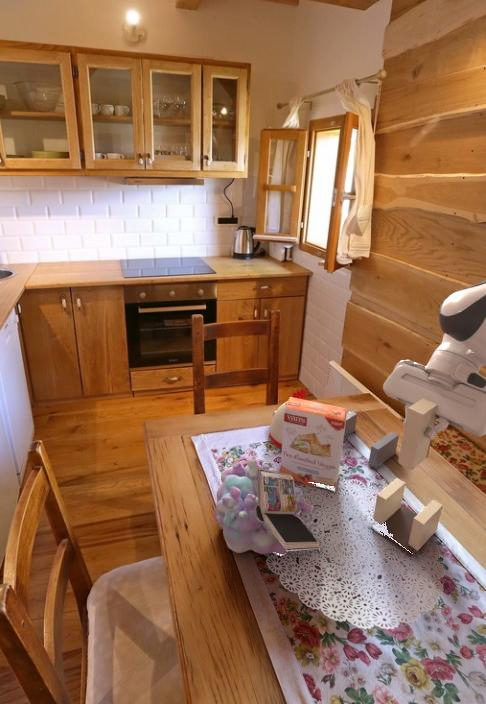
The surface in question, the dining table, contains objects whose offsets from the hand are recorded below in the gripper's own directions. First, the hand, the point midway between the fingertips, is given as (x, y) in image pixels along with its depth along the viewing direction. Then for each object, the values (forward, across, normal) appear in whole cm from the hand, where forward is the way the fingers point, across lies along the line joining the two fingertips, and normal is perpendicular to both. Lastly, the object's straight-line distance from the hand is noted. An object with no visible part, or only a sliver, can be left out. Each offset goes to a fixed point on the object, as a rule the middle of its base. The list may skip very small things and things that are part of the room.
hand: (417, 432), depth 81 cm
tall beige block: (+5, 0, +6) cm, 7 cm away
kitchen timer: (+14, -36, +21) cm, 43 cm away
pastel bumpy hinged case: (+35, -17, 0) cm, 39 cm away
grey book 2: (+5, -14, +29) cm, 33 cm away
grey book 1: (+5, -27, +29) cm, 40 cm away
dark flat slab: (+18, +1, +17) cm, 24 cm away
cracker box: (+20, -22, +14) cm, 33 cm away
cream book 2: (+16, +6, +16) cm, 23 cm away
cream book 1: (+16, -3, +16) cm, 23 cm away
